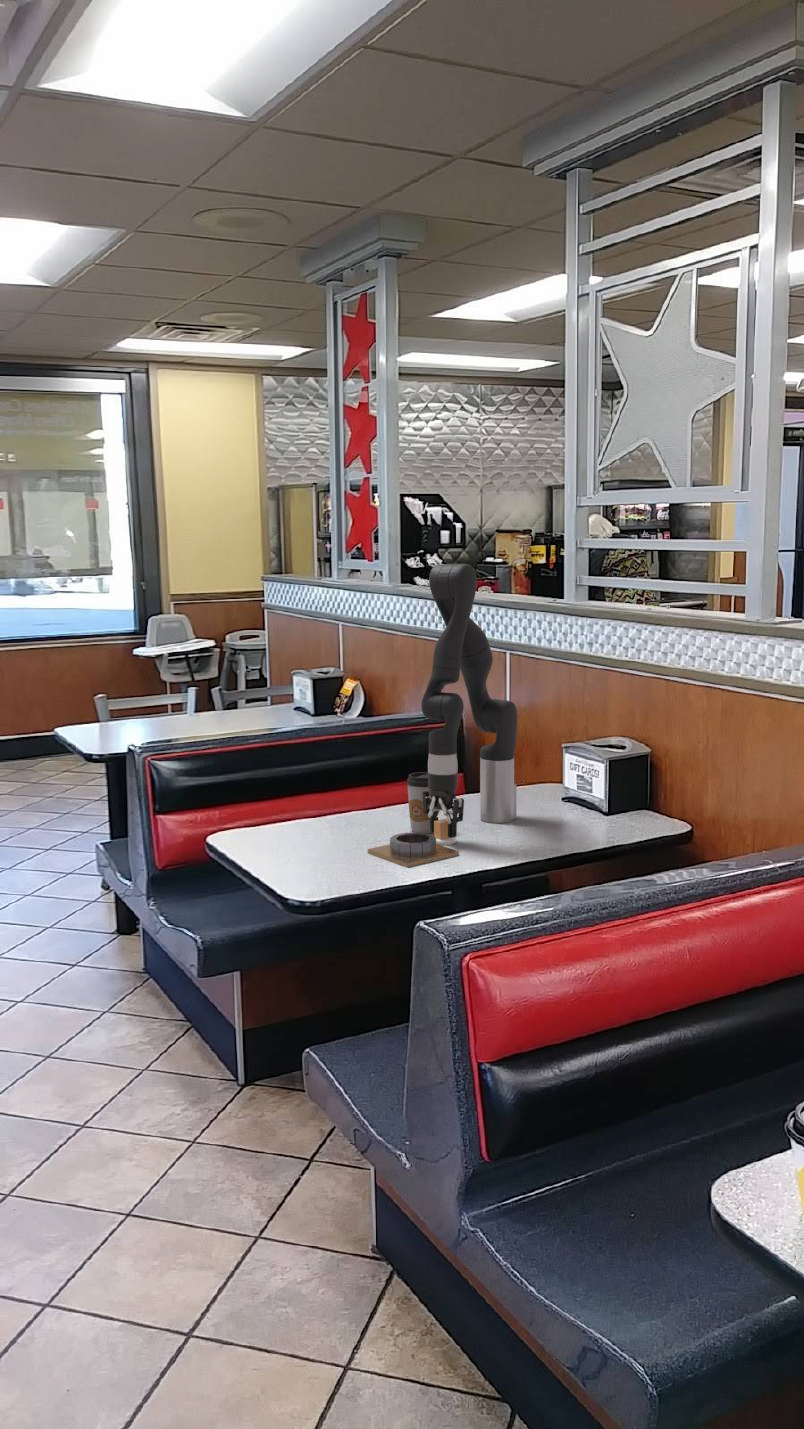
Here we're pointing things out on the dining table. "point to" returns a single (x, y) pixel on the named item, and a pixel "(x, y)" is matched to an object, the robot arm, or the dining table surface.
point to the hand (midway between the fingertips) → (443, 834)
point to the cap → (442, 833)
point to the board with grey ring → (413, 849)
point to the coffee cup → (418, 802)
